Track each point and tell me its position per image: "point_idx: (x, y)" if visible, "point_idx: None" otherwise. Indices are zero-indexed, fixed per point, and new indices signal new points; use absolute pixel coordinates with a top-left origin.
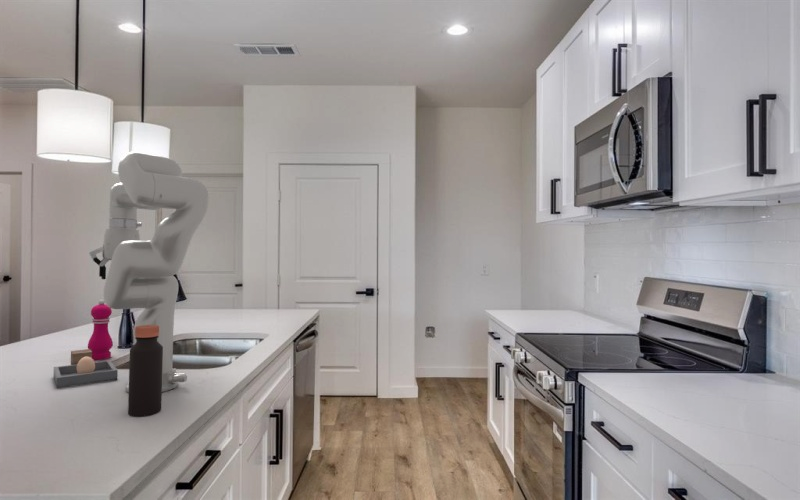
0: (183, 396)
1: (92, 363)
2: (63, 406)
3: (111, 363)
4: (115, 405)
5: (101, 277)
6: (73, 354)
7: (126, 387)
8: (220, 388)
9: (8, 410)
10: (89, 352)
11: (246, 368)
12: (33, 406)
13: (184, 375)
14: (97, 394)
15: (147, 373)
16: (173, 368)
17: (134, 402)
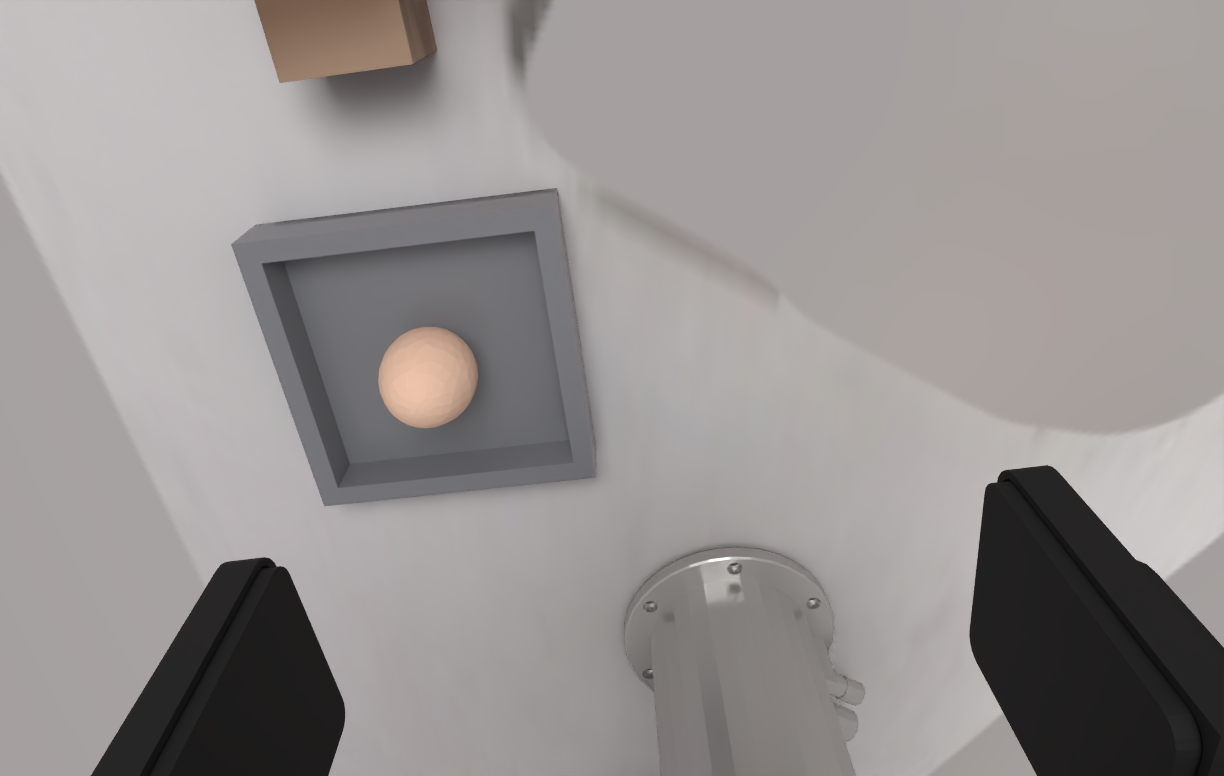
0: None
1: (461, 412)
2: (423, 700)
3: (563, 301)
4: (585, 750)
5: (218, 574)
6: (288, 80)
7: (626, 650)
8: (951, 724)
9: None
10: (396, 65)
11: (1221, 504)
12: None
13: (845, 740)
14: (521, 622)
15: None
16: (828, 681)
17: None
